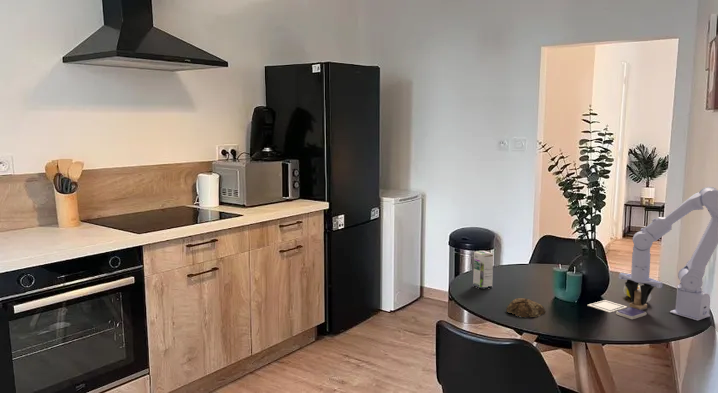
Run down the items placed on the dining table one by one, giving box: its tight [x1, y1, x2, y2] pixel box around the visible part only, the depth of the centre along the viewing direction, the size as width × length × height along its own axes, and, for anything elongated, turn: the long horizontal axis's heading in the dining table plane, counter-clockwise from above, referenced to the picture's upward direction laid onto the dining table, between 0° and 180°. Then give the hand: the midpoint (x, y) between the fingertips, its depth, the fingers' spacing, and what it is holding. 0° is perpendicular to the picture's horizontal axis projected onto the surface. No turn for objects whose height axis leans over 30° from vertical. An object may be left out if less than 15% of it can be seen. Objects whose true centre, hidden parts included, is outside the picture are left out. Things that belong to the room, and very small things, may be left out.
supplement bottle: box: [622, 284, 652, 303], centre depth 202 cm, size 6×6×10 cm
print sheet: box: [587, 299, 628, 314], centre depth 196 cm, size 9×10×1 cm
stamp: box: [629, 290, 648, 311], centre depth 193 cm, size 4×4×6 cm
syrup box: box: [472, 250, 494, 287], centre depth 220 cm, size 6×6×14 cm
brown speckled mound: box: [505, 297, 547, 318], centre depth 192 cm, size 13×12×5 cm
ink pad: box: [615, 306, 647, 320], centre depth 188 cm, size 6×8×1 cm
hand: (638, 302), depth 194 cm, fingers closed on stamp, 3 cm apart
